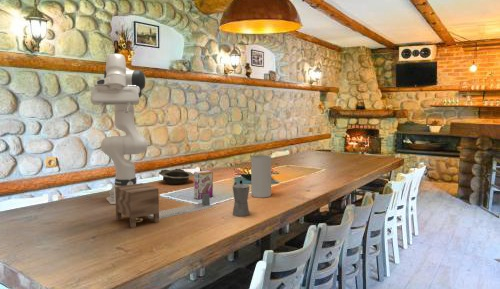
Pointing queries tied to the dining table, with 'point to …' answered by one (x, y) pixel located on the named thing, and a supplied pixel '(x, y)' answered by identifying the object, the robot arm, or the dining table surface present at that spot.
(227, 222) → the dining table surface
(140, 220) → the brass token
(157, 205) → the walnut cabinet
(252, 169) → the cylinder vase
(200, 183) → the candy bar box
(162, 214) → the grey long bar
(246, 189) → the coffeepot
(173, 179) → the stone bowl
